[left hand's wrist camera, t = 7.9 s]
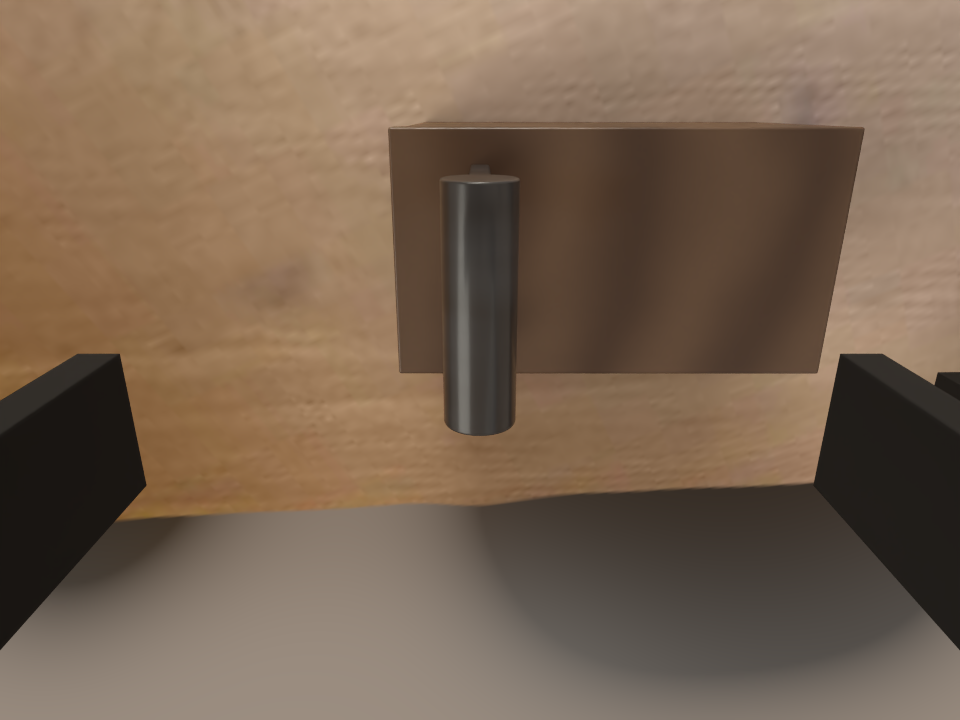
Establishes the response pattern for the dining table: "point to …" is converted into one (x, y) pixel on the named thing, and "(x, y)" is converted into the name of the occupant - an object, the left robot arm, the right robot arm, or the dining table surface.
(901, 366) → the left robot arm
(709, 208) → the lid
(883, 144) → the dining table surface
